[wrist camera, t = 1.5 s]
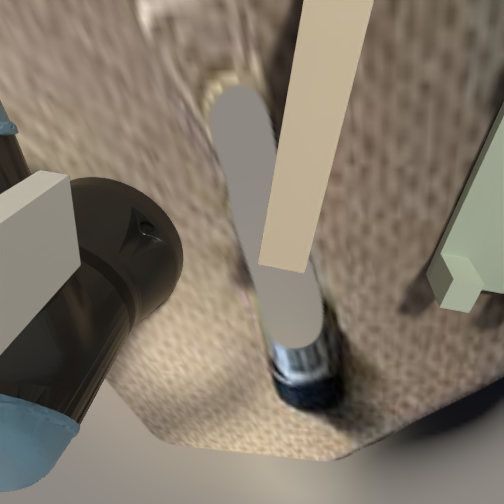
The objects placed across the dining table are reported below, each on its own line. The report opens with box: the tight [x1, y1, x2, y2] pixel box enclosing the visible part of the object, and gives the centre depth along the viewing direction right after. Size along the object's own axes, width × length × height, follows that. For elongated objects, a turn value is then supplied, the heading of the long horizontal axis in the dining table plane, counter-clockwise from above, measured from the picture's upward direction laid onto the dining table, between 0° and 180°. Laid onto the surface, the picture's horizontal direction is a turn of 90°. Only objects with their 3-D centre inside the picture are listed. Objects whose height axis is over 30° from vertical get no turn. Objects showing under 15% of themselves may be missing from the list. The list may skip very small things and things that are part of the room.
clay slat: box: [258, 0, 374, 273], centre depth 28 cm, size 20×4×9 cm, turn 172°
